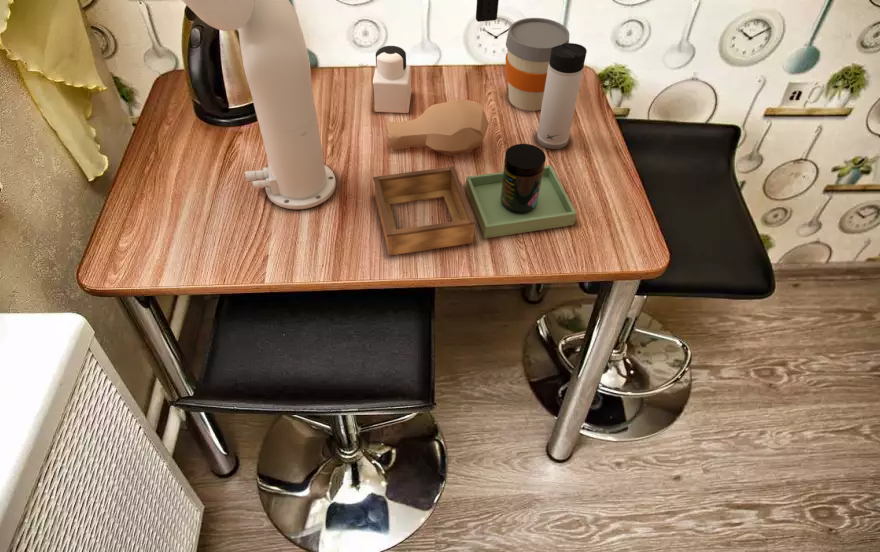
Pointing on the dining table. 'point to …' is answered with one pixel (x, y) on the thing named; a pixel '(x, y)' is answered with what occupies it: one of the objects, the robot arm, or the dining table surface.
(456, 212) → the brown wooden square frame
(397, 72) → the white block figurine
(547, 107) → the travel mug
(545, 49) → the reusable coffee cup
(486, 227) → the tray
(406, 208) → the dining table surface
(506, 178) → the supplement container
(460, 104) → the squash
